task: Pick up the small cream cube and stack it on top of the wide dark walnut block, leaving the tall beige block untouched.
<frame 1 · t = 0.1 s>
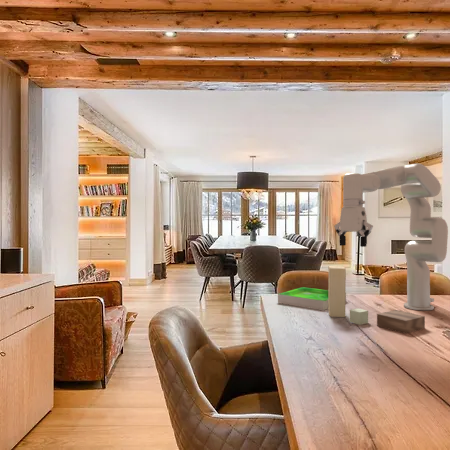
hand: (352, 246, 150), 31 cm above the table, tool pointing down, fingers open, 9 cm apart
tall beige block: (337, 315, 162), on the table
cream cube: (358, 322, 149), on the table
tray: (312, 303, 188), on the table
walnut block: (400, 327, 142), on the table
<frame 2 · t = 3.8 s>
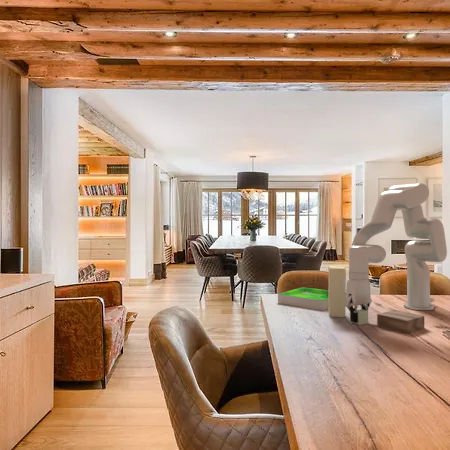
hand: (358, 320, 149), 1 cm above the table, tool pointing down, fingers closed on cream cube, 5 cm apart
cream cube: (358, 322, 149), on the table, touching gripper
everything else where it was.
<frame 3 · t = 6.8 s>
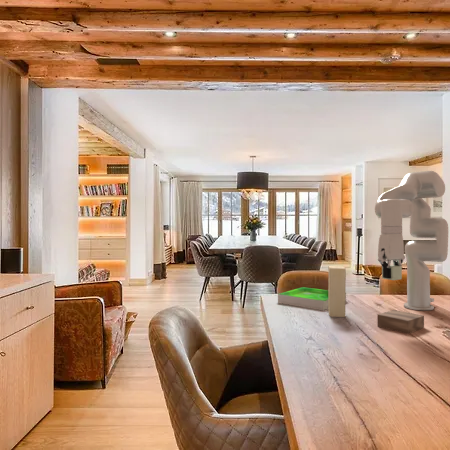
hand: (391, 276, 144), 19 cm above the table, tool pointing down, fingers closed on cream cube, 4 cm apart
cream cube: (391, 278, 144), point 18 cm above the table, touching gripper
everything else where it was.
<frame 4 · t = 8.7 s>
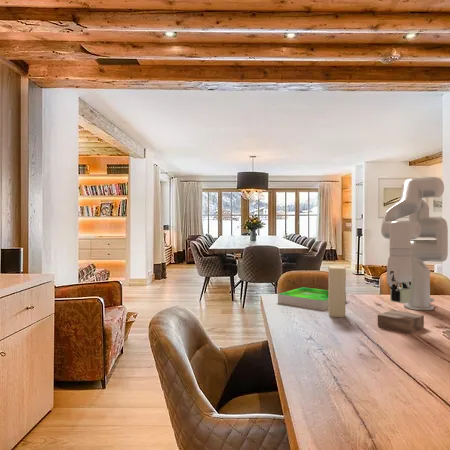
hand: (400, 299, 142), 11 cm above the table, tool pointing down, fingers closed on cream cube, 4 cm apart
cream cube: (400, 301, 142), point 10 cm above the table, touching gripper
everything else where it was.
when the fingers open (7 cm above the table, at t = 10.2 s): cream cube drops 2 cm, resting on walnut block.
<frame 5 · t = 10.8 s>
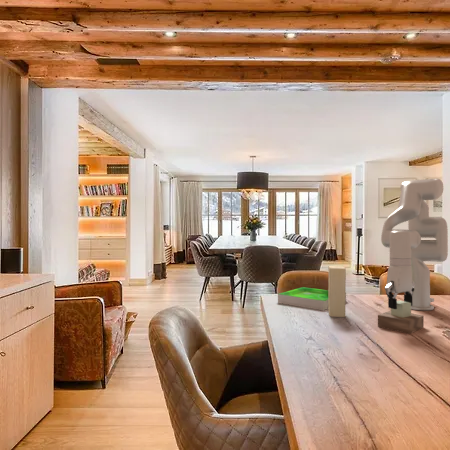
hand: (400, 306, 142), 8 cm above the table, tool pointing down, fingers open, 9 cm apart
cream cube: (400, 315, 142), point 5 cm above the table, touching walnut block
walnut block: (400, 328, 142), on the table, touching cream cube
everything else where it was.
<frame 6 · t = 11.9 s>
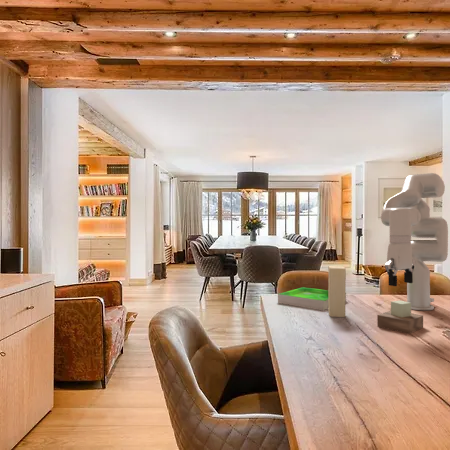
hand: (400, 284, 143), 16 cm above the table, tool pointing down, fingers open, 9 cm apart
nothing on the table moved.
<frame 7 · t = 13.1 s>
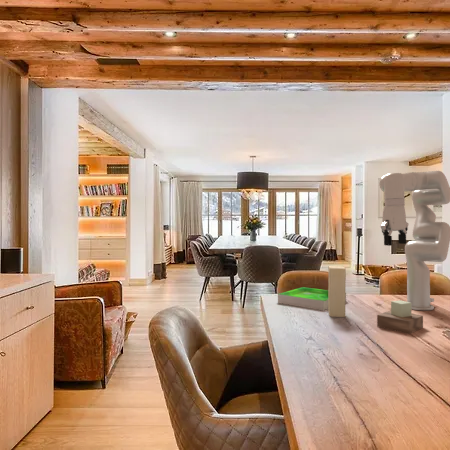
hand: (395, 244, 153), 31 cm above the table, tool pointing down, fingers open, 9 cm apart
cream cube: (401, 315, 142), point 5 cm above the table
walnut block: (400, 328, 142), on the table
everything else where it was.
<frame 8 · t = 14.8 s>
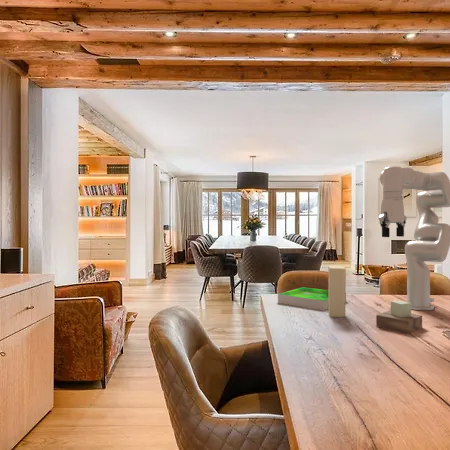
hand: (393, 236, 156), 34 cm above the table, tool pointing down, fingers open, 9 cm apart
cream cube: (400, 315, 142), point 5 cm above the table, touching walnut block
walnut block: (399, 328, 142), on the table, touching cream cube
everything else where it was.
at the end: cream cube inside the target area on the walnut block (0.6 cm from its centre), point 5.1 cm above the walnut block's base; cream cube tilted 1°; the gripper is holding nothing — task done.
